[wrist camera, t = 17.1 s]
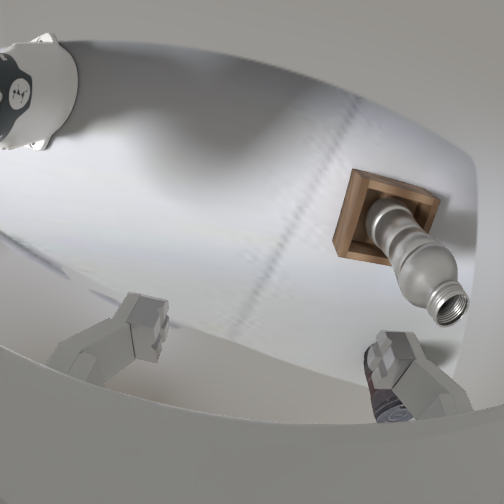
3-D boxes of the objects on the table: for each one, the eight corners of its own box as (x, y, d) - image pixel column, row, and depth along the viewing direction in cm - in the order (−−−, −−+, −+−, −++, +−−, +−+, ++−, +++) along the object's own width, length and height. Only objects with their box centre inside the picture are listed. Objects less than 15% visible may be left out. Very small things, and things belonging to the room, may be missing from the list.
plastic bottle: (405, 191, 36) (490, 271, 18) (402, 236, 39) (470, 332, 22) (360, 193, 37) (428, 282, 19) (360, 240, 40) (412, 345, 22)
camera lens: (368, 336, 50) (388, 404, 37) (405, 337, 50) (430, 400, 37) (354, 365, 54) (367, 429, 41) (389, 365, 54) (407, 425, 41)
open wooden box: (332, 240, 41) (338, 256, 37) (352, 168, 36) (362, 177, 32) (401, 254, 41) (412, 270, 38) (425, 189, 36) (440, 200, 32)
